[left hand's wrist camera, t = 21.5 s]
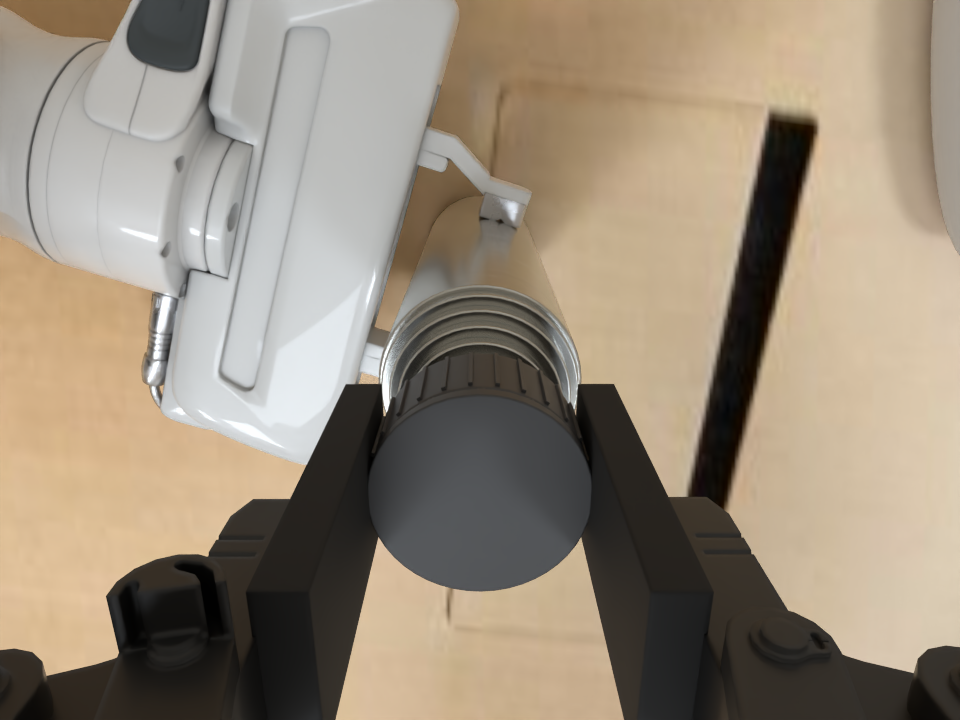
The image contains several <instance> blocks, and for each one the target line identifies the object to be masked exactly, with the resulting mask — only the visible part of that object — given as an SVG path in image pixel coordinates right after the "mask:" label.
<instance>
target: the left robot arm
mask: <svg viewBox="0 0 960 720" xmlns="http://www.w3.org/2000/svg"><path fill="white" fill-rule="evenodd" d="M382 417H383V399H382V384H346V385H345V387H344V389H343V391H342V393H341V395H340V397H339V399H338V401H337V403H336V405H335V407H334V409H333V412H332V414H331V416H330V418H329V420H328V422H327V424H326V426H325V428H324V430H323V432H322V434H321V436H320V439H319V441H318V443H317V445H316V447H315V449H314V451H313V453H312V455H311V457H310V459H309V461H308V463H307V465H306V468H305V470H304V472H303V474H302V476H301V478H300V480H299V482H298V484H297V486H296V488H295V490H294V492H293V495H292V497H291V499H253V500H252V501H250V502H249V503H248V504H246V505H245V506H244V507H242V508H241V509H240V510H238V511H237V512H236V513H234V514H233V515H232V516H231V517H230V518H229V520H228V522H227V523H226V525H225V527H224V528H223V530H222V532H221V533H220V535H219V540H216V541H215V543H214V545H213V546H212V548H211V550H210V551H209V556H208V557H206V556H202V555H199V554H194V555H174V556H170V557H165V558H161V559H156V560H154V561H152V562H149V563H147V564H145V565H142V566H140V567H138V568H136V569H134V570H132V571H131V572H130V573H128V574H127V575H125V576H124V577H123V578H121V579H120V580H119V581H117V582H116V584H115V585H114V586H113V588H112V589H111V590H110V592H109V593H108V594H107V596H106V598H107V602H108V607H109V611H110V615H111V620H112V624H113V628H114V632H115V637H116V641H117V645H118V650H119V654H118V657H117V658H115V659H112V660H109V661H106V662H102V663H99V664H96V665H92V666H88V667H83V668H79V669H75V670H71V671H66V672H62V673H58V674H54V675H49V676H46V673H45V670H44V666H43V663H42V661H41V660H40V659H39V658H38V657H37V656H36V655H35V654H34V653H33V652H29V651H24V650H19V649H7V650H0V720H335V719H336V715H337V710H338V706H339V702H340V698H341V693H342V689H343V685H344V681H345V676H346V672H347V668H348V664H349V659H350V655H351V651H352V647H353V642H354V638H355V634H356V630H357V625H358V621H359V617H360V613H361V608H362V604H363V600H364V596H365V591H366V587H367V583H368V579H369V574H370V570H371V566H372V562H373V557H374V553H375V549H376V545H377V540H378V535H377V532H376V530H375V528H374V526H373V524H372V521H371V518H370V510H369V495H368V474H369V470H370V467H371V464H372V460H373V457H372V456H370V455H371V452H372V449H373V446H374V442H375V439H376V436H377V433H378V430H379V427H380V423H381V420H382ZM576 418H577V421H578V425H579V428H580V431H581V434H582V437H583V442H584V445H585V449H586V452H587V455H588V458H589V467H590V470H591V475H592V488H591V503H590V517H589V521H588V524H587V526H586V528H585V530H584V532H583V535H582V536H581V538H582V542H583V546H584V551H585V555H586V559H587V563H588V568H589V572H590V576H591V580H592V585H593V589H594V593H595V597H596V602H597V606H598V610H599V614H600V619H601V623H602V627H603V631H604V636H605V640H606V644H607V648H608V653H609V657H610V661H611V665H612V670H613V674H614V678H615V682H616V687H617V691H618V695H619V699H620V704H621V708H622V712H623V716H624V720H960V647H953V646H942V647H937V648H932V649H928V650H927V651H926V652H925V653H924V654H923V655H921V656H920V657H919V658H918V661H917V664H916V668H915V671H914V673H910V672H906V671H902V670H897V669H893V668H889V667H884V666H880V665H876V664H871V663H867V662H863V661H860V660H857V659H854V658H850V657H847V656H844V655H842V653H841V651H840V649H839V648H838V646H837V645H836V643H835V642H834V640H833V639H832V637H831V636H830V635H829V634H828V633H826V632H825V631H824V630H823V629H822V628H820V627H819V626H818V625H817V624H816V623H814V622H812V621H810V620H808V619H806V618H804V617H802V616H800V615H798V614H796V613H794V612H791V611H788V610H787V608H786V606H785V605H784V603H783V602H782V600H781V598H780V597H779V595H778V593H777V592H776V590H775V588H774V587H773V585H772V584H771V582H770V580H769V579H768V577H767V575H766V574H765V572H764V570H763V569H762V567H761V566H760V564H759V562H758V561H757V559H756V557H755V556H754V554H751V549H750V548H749V546H748V544H747V543H746V541H745V539H744V538H741V533H740V531H739V530H738V528H737V526H736V525H735V523H734V521H733V520H732V518H731V516H730V515H729V514H728V513H727V512H726V511H724V510H723V509H722V508H720V507H719V506H718V505H716V504H715V503H714V502H712V501H711V500H710V499H708V498H707V497H668V495H667V493H666V491H665V489H664V487H663V485H662V483H661V481H660V479H659V477H658V475H657V473H656V471H655V468H654V466H653V464H652V462H651V460H650V458H649V456H648V454H647V452H646V450H645V448H644V446H643V444H642V442H641V439H640V437H639V435H638V433H637V431H636V429H635V427H634V425H633V423H632V421H631V419H630V417H629V415H628V412H627V410H626V408H625V406H624V404H623V402H622V400H621V398H620V396H619V394H618V392H617V390H616V388H615V386H614V384H578V391H577V409H576Z"/></svg>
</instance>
